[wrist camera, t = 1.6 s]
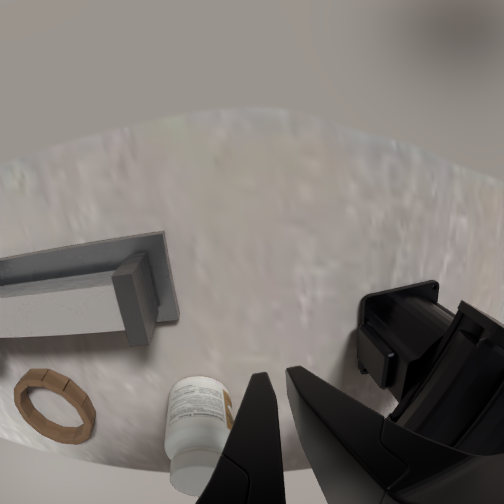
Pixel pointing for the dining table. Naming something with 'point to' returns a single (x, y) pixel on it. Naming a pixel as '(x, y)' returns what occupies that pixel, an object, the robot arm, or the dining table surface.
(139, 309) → the grey long bar
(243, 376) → the dining table surface
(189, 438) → the pill bottle
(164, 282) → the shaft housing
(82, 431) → the bottle collar
